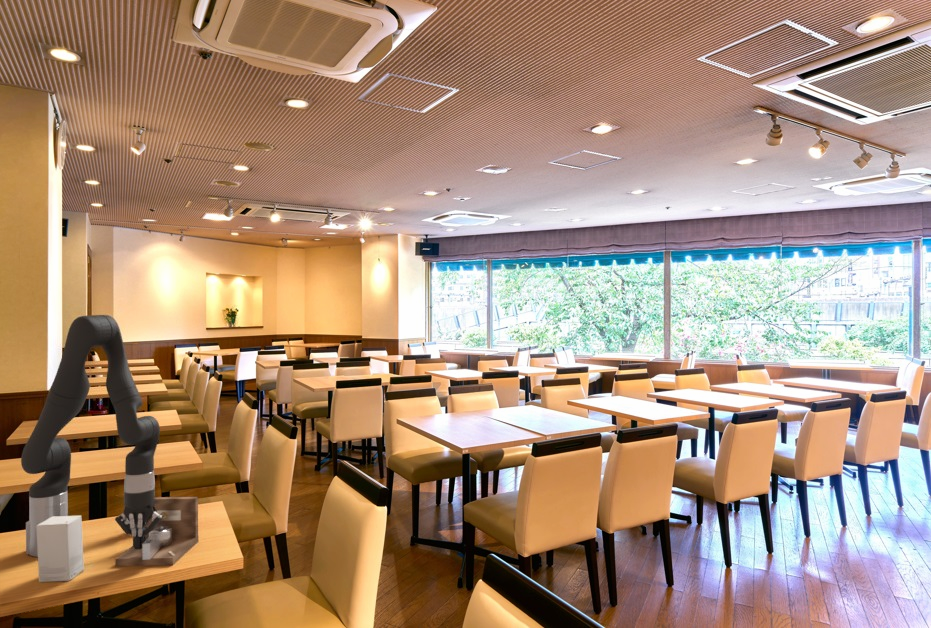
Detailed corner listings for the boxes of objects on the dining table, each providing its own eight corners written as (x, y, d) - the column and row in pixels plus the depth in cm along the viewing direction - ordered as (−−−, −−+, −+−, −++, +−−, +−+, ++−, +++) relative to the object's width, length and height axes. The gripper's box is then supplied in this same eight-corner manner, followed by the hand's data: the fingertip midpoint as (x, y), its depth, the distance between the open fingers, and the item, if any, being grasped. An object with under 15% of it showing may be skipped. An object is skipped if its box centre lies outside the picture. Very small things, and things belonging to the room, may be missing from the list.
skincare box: (84, 570, 155) (84, 514, 155) (68, 582, 148) (67, 523, 148) (53, 571, 154) (53, 515, 154) (35, 583, 148) (35, 524, 148)
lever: (153, 540, 169) (153, 523, 169) (174, 538, 170) (174, 522, 170) (134, 560, 155) (134, 542, 155) (158, 558, 156) (157, 540, 156)
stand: (115, 565, 158) (115, 516, 157) (146, 542, 174) (145, 497, 173) (173, 565, 158) (172, 515, 158) (198, 541, 174) (198, 496, 174)
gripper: (107, 492, 156) (107, 554, 156) (156, 492, 156) (155, 554, 156) (123, 483, 163) (123, 543, 163) (169, 483, 163) (169, 542, 163)
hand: (139, 548), depth 160 cm, fingers closed
